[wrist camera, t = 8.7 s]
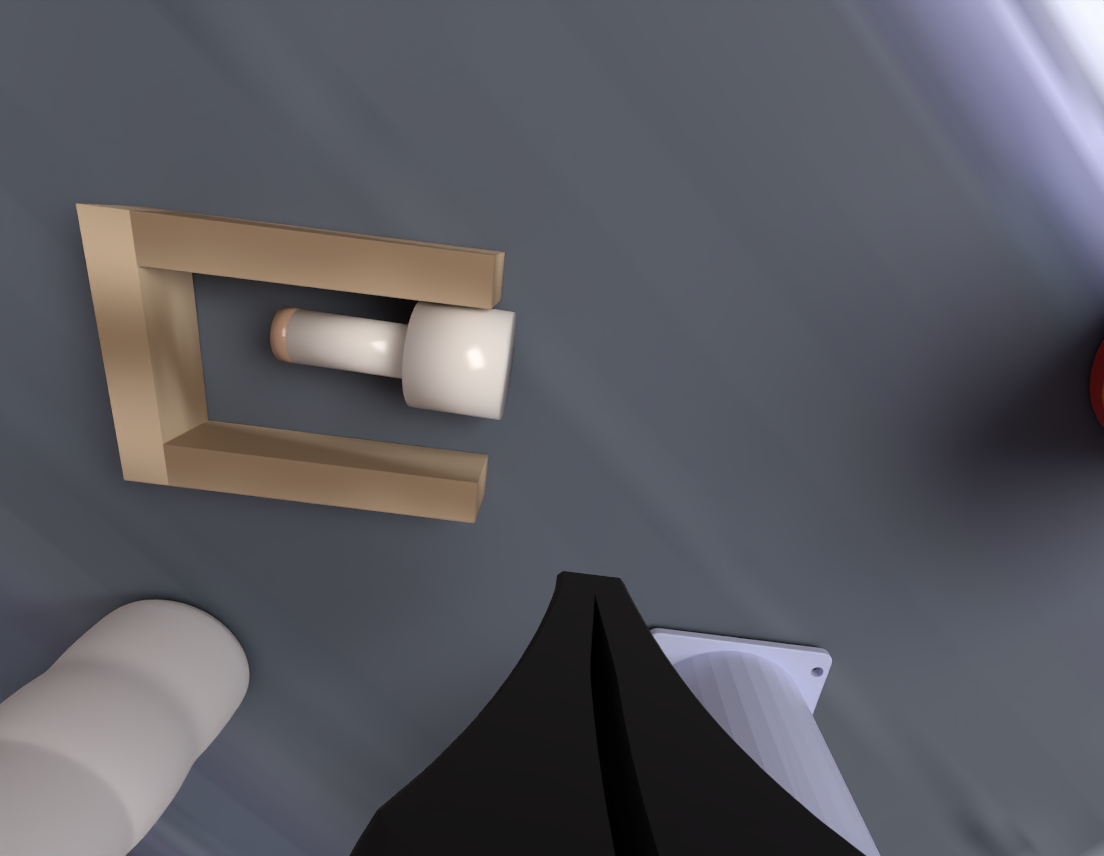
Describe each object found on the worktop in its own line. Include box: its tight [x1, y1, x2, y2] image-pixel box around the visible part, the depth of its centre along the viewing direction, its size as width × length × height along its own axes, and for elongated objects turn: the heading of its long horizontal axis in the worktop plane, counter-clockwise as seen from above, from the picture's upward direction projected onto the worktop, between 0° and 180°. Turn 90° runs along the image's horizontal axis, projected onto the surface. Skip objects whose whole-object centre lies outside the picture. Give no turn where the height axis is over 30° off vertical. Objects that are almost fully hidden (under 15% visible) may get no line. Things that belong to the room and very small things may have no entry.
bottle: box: [270, 301, 516, 420], centre depth 18 cm, size 4×4×8 cm
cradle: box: [76, 204, 505, 523], centre depth 19 cm, size 9×13×2 cm
